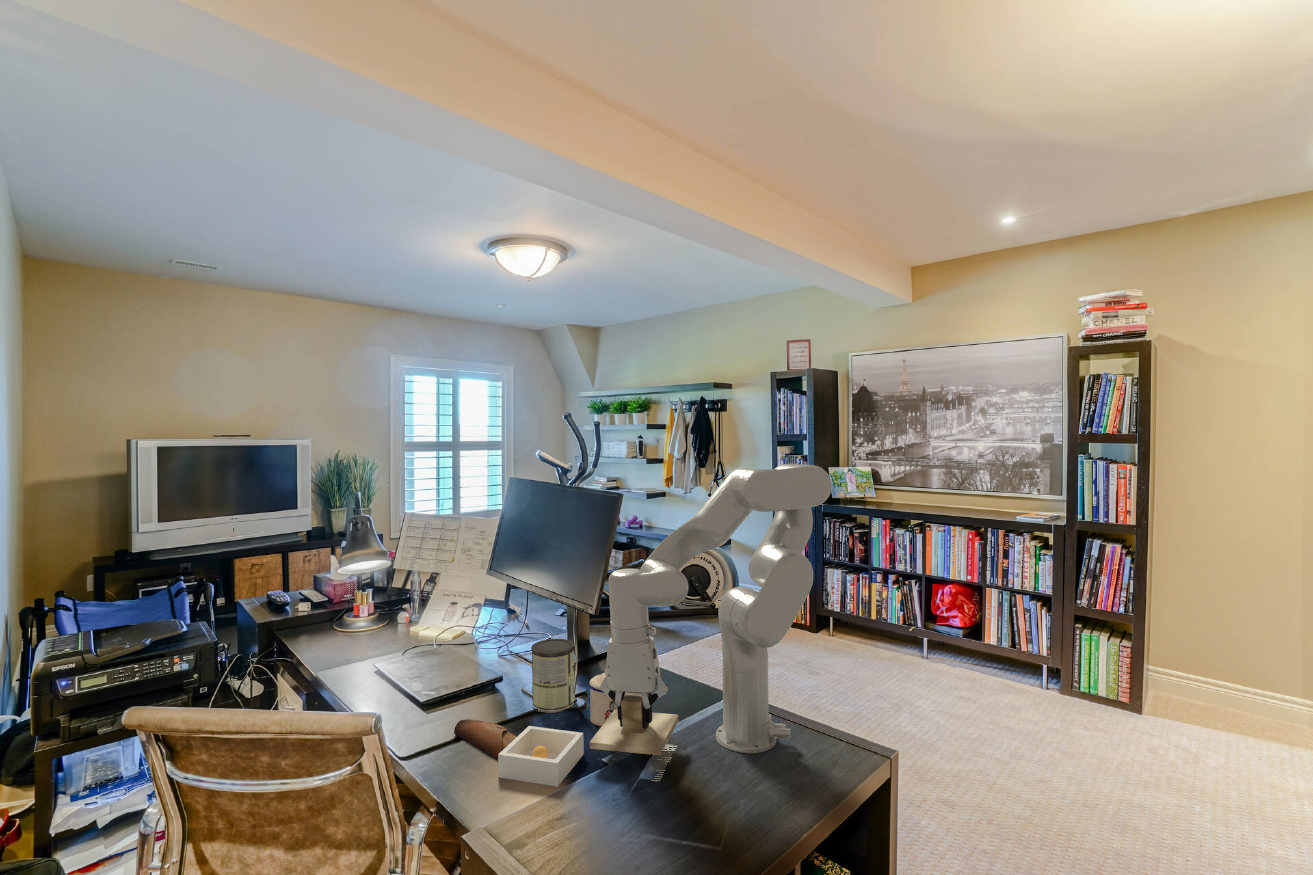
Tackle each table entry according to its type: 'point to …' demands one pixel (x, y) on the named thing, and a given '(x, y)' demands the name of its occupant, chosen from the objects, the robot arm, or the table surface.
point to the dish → (546, 771)
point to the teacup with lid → (600, 701)
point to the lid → (634, 729)
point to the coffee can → (553, 675)
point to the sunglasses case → (484, 735)
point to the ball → (540, 752)
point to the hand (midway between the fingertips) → (635, 723)
